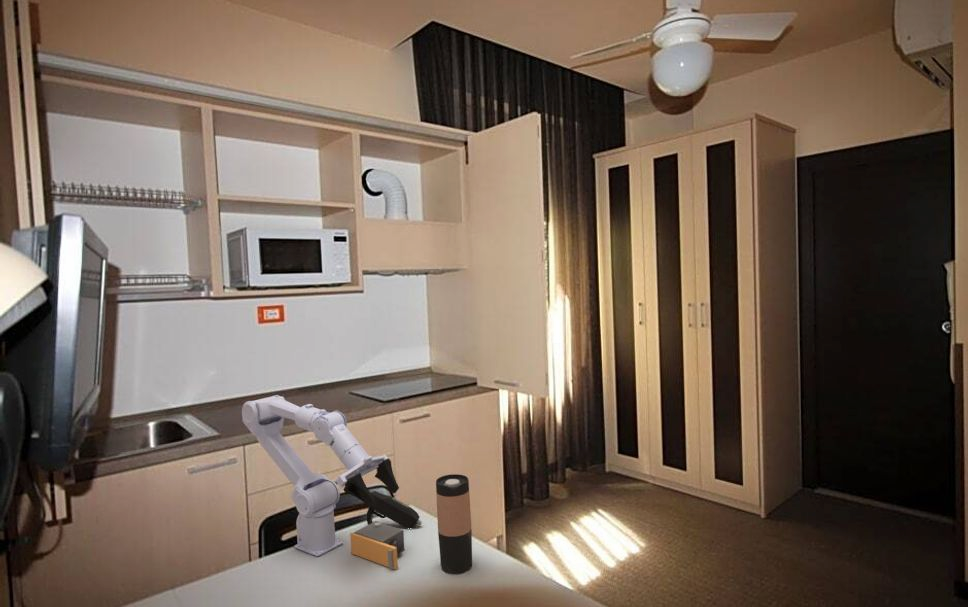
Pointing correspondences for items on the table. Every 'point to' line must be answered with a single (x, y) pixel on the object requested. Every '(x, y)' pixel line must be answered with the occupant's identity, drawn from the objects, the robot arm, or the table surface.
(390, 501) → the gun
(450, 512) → the travel mug
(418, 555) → the table surface
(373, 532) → the camera housing
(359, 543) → the side door
